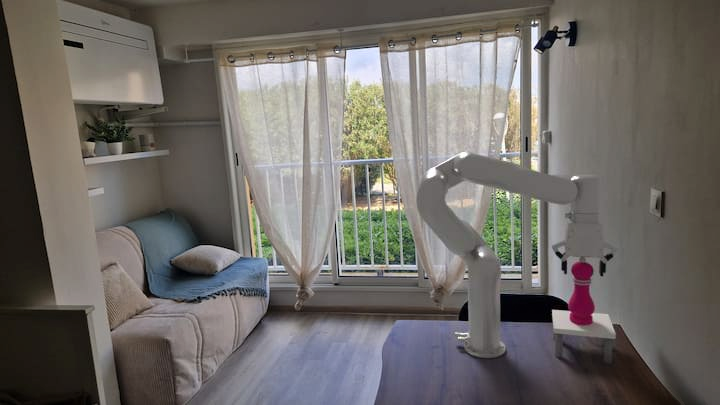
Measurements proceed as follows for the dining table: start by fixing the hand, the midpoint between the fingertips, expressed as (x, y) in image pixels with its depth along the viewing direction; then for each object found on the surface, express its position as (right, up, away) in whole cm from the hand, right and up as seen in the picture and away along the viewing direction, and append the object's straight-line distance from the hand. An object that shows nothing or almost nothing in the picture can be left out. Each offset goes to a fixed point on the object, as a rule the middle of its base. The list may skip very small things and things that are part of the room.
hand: (583, 274), depth 136 cm
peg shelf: (+1, -24, +4) cm, 24 cm away
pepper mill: (+1, -15, +3) cm, 15 cm away
